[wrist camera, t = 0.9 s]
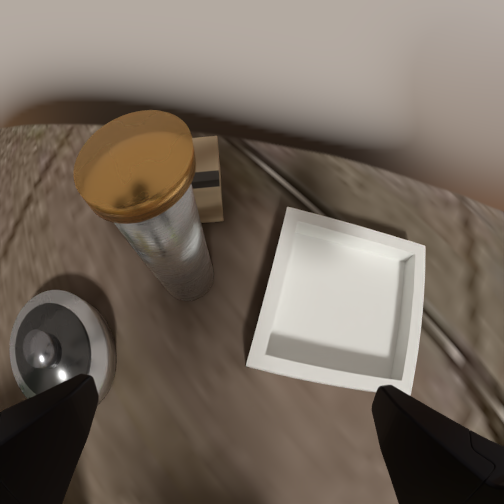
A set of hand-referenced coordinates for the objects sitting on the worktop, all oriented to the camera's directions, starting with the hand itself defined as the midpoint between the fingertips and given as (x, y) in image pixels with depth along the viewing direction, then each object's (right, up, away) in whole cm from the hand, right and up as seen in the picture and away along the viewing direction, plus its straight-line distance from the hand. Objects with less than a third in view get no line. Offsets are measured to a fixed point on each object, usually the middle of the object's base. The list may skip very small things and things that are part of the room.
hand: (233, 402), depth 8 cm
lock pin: (-4, +3, +15) cm, 16 cm away
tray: (+7, 0, +14) cm, 16 cm away
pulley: (-15, -4, +12) cm, 19 cm away
